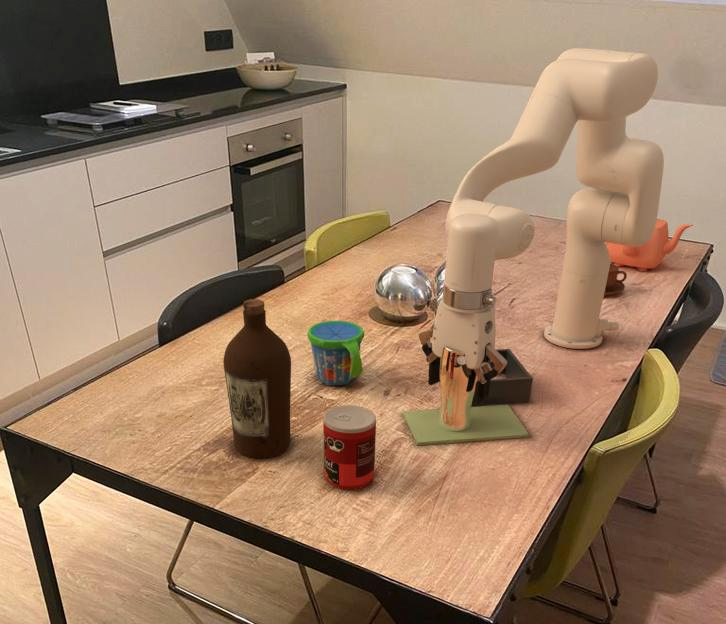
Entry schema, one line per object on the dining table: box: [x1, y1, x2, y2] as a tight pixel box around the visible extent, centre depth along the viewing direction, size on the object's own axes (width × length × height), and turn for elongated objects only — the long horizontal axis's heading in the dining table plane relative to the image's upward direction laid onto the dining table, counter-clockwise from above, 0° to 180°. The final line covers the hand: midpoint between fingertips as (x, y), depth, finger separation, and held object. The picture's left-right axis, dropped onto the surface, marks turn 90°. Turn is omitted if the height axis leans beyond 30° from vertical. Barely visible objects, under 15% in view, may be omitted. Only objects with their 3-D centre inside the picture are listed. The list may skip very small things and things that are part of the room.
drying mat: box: [402, 404, 530, 446], centre depth 135 cm, size 20×11×1 cm, turn 100°
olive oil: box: [223, 298, 292, 459], centre depth 122 cm, size 11×11×25 cm
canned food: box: [322, 404, 377, 491], centre depth 118 cm, size 8×8×11 cm
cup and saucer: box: [604, 263, 628, 296], centre depth 193 cm, size 12×12×6 cm
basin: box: [471, 348, 534, 407], centre depth 146 cm, size 13×13×5 cm
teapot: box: [605, 218, 694, 272], centre depth 209 cm, size 18×18×14 cm
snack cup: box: [306, 320, 365, 386], centre depth 147 cm, size 16×10×10 cm
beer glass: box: [437, 345, 479, 431], centre depth 131 cm, size 7×7×15 cm
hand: (457, 391), depth 131 cm, fingers open, 9 cm apart
